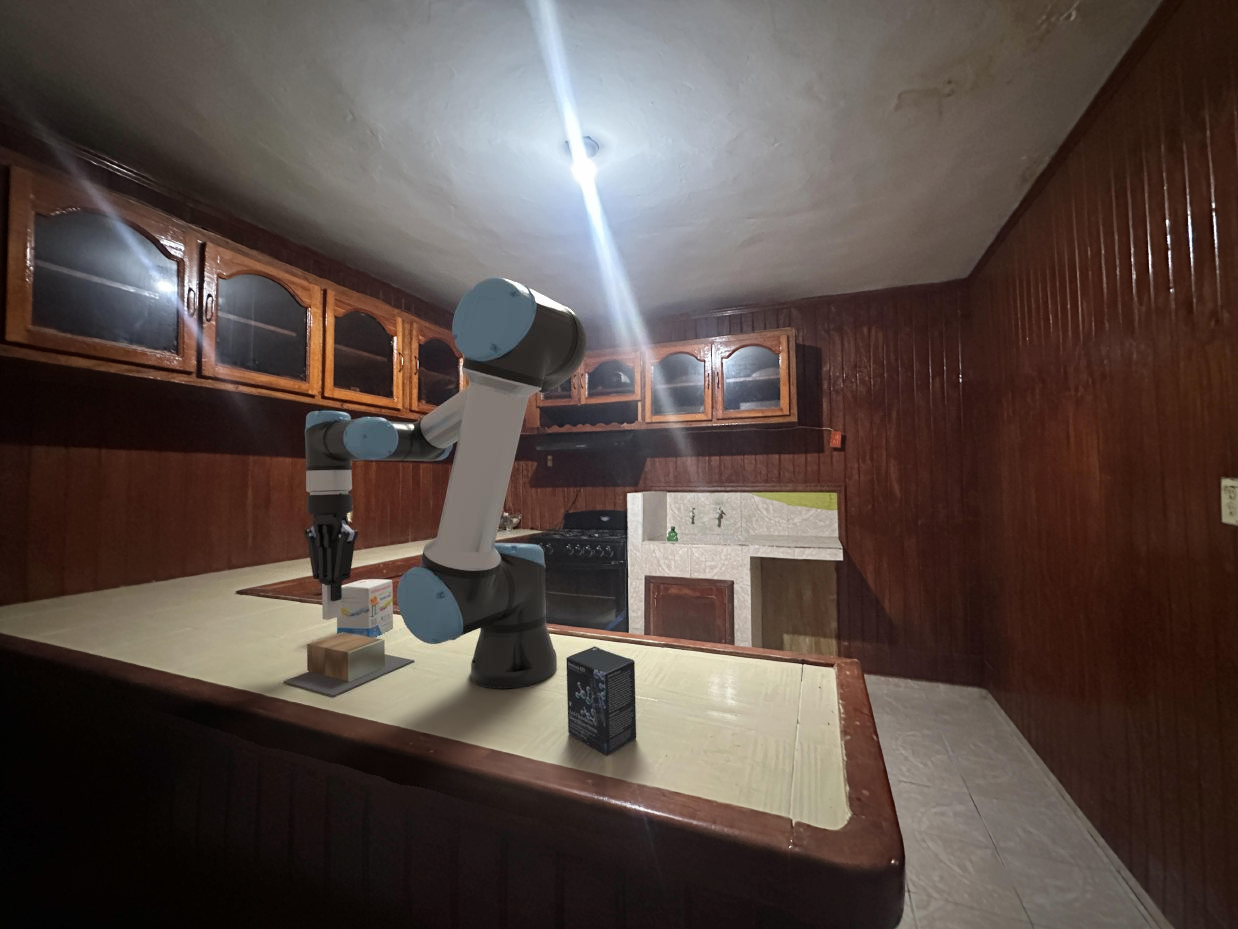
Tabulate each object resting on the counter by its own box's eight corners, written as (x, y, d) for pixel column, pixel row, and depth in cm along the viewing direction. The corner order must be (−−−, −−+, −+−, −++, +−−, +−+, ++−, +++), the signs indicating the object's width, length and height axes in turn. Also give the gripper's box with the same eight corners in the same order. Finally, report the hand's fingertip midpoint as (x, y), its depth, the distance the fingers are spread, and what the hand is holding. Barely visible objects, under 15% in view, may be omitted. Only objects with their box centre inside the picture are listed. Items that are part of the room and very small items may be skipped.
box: (567, 735, 66) (565, 656, 66) (597, 719, 70) (595, 645, 70) (607, 758, 60) (604, 672, 60) (638, 739, 64) (635, 658, 64)
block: (343, 657, 96) (384, 666, 91) (307, 671, 90) (349, 681, 84) (342, 632, 96) (384, 639, 91) (306, 643, 90) (349, 652, 85)
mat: (414, 661, 94) (414, 660, 94) (333, 697, 79) (333, 695, 79) (366, 651, 100) (366, 650, 100) (283, 682, 85) (283, 681, 85)
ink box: (369, 640, 107) (368, 587, 107) (335, 639, 108) (335, 586, 109) (394, 628, 115) (393, 578, 115) (363, 627, 117) (362, 578, 117)
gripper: (370, 491, 93) (372, 615, 93) (327, 492, 99) (329, 608, 98) (332, 493, 86) (334, 627, 86) (288, 494, 92) (290, 619, 92)
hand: (332, 617), depth 92 cm, fingers closed
